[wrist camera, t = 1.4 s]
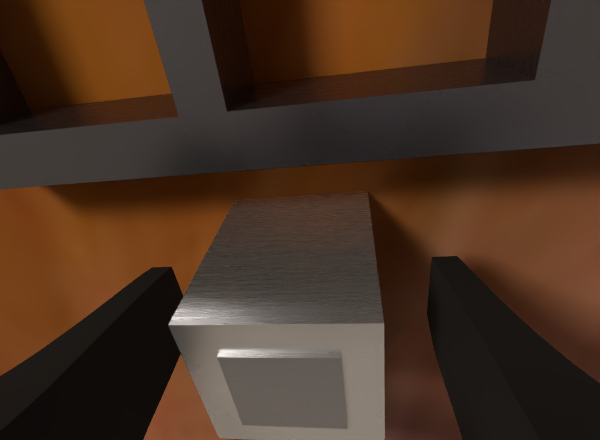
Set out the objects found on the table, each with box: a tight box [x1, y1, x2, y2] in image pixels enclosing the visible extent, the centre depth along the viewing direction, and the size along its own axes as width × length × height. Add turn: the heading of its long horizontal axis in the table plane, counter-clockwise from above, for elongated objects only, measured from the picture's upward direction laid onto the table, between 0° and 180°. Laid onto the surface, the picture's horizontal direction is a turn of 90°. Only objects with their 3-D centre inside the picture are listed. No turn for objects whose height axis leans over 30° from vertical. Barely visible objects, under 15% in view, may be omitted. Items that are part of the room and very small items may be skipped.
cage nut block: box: [168, 191, 385, 440], centre depth 10 cm, size 4×4×5 cm
